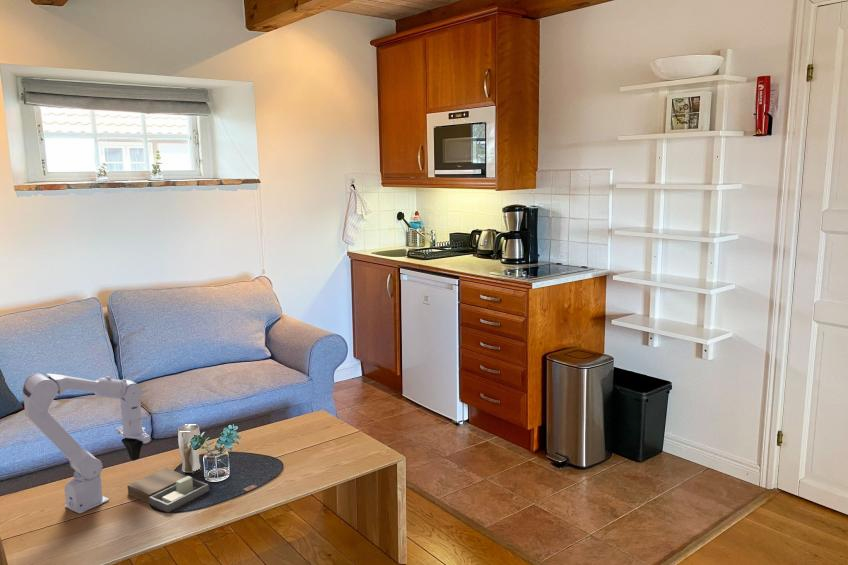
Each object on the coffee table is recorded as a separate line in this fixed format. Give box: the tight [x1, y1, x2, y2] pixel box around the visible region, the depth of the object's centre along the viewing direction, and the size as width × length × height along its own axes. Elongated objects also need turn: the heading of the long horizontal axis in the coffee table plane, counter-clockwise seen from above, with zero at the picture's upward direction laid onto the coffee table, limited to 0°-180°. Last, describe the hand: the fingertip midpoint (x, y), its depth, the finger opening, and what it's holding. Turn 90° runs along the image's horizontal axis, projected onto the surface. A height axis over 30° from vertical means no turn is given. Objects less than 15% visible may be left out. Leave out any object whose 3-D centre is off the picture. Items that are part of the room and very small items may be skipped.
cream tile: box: [162, 491, 184, 503], centre depth 197 cm, size 4×4×2 cm
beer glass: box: [177, 423, 202, 473], centre depth 218 cm, size 7×7×15 cm
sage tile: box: [176, 475, 193, 495], centre depth 203 cm, size 4×4×2 cm
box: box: [148, 477, 210, 513], centre depth 200 cm, size 15×9×2 cm, turn 148°
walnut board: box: [127, 467, 188, 504], centre depth 206 cm, size 14×11×3 cm
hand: (135, 459), depth 206 cm, fingers closed
